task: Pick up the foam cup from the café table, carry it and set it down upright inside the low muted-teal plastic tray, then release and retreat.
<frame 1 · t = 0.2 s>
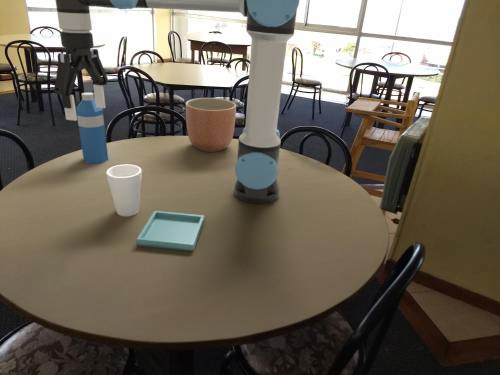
hand: (87, 113, 104), 27 cm above the table, fingers open, 13 cm apart
foam cup: (128, 211, 111), on the table
planter: (210, 147, 163), on the table
water bottle: (96, 159, 144), on the table
tray: (172, 232, 102), on the table
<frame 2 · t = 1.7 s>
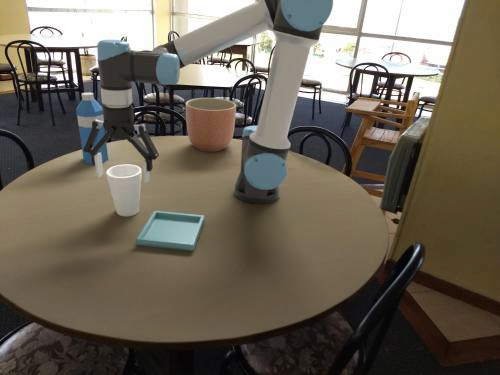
hand: (123, 178, 106), 11 cm above the table, fingers open, 13 cm apart
nothing on the table moved.
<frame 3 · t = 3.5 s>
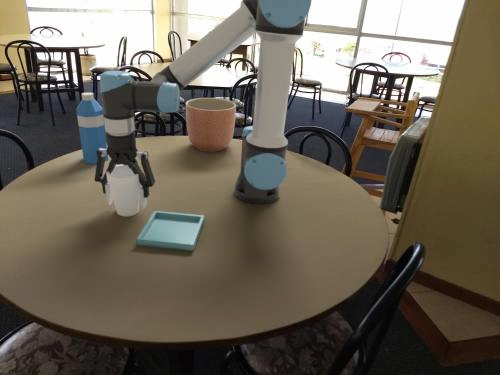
hand: (127, 204, 110), 2 cm above the table, fingers closed on foam cup, 9 cm apart
foam cup: (128, 211, 111), on the table, touching gripper
everything else where it was.
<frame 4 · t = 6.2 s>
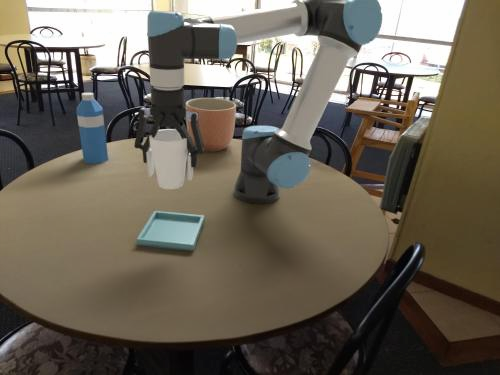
hand: (170, 176, 95), 17 cm above the table, fingers closed on foam cup, 9 cm apart
foam cup: (171, 184, 96), point 15 cm above the table, touching gripper
everything else where it was.
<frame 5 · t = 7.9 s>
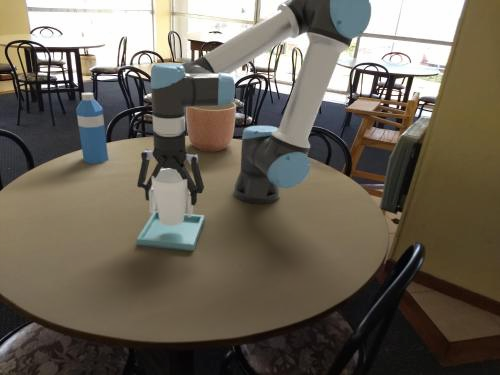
hand: (171, 212, 99), 6 cm above the table, fingers closed on foam cup, 9 cm apart
foam cup: (171, 220, 100), point 4 cm above the table, touching gripper
everything else where it was.
when the fingers open (4 cm above the table, at t = 9.4 s): foam cup drops 1 cm, resting on tray.
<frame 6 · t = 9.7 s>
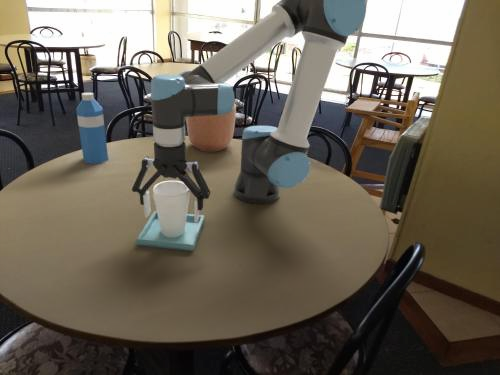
hand: (172, 217, 100), 5 cm above the table, fingers open, 13 cm apart
foam cup: (172, 231, 102), resting on tray
everything else where it was.
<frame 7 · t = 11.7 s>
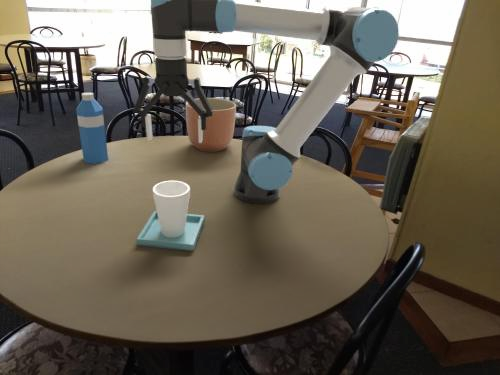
hand: (175, 140, 100), 23 cm above the table, fingers open, 13 cm apart
nothing on the table moved.
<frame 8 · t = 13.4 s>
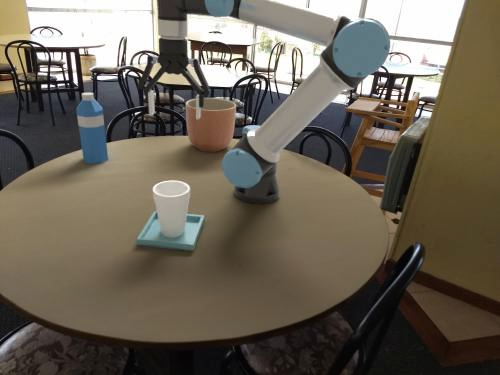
hand: (175, 116, 108), 27 cm above the table, fingers open, 13 cm apart
nothing on the table moved.
at the end: foam cup inside the target area on the tray (0.0 cm from its centre), point 0.4 cm above the tray's base; foam cup tilted 0°; the gripper is holding nothing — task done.
